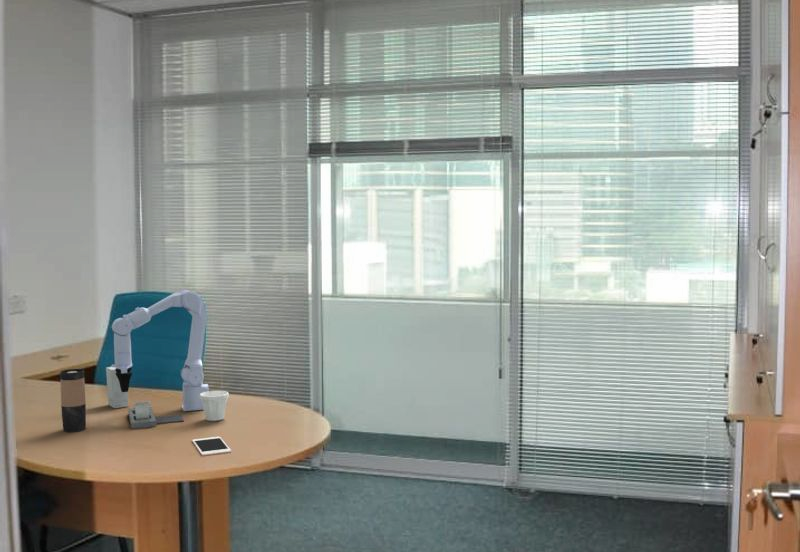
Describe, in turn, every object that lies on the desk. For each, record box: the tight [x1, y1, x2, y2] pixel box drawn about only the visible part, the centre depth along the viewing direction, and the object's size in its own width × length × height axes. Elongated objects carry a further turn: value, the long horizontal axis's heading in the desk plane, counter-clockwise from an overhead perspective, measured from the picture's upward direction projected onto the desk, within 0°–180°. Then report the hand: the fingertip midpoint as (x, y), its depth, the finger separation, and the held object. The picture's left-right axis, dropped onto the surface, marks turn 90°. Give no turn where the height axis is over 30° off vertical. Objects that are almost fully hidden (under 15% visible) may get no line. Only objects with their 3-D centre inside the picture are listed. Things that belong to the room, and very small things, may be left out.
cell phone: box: [191, 436, 232, 457], centre depth 257 cm, size 9×18×1 cm, turn 24°
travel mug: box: [59, 368, 87, 433], centre depth 278 cm, size 8×8×20 cm
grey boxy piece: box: [133, 400, 151, 420], centre depth 287 cm, size 5×5×7 cm
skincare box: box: [105, 366, 130, 409], centre depth 313 cm, size 8×6×15 cm
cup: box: [200, 390, 230, 422], centre depth 290 cm, size 10×10×9 cm
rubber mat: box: [155, 414, 184, 425], centre depth 291 cm, size 9×9×1 cm
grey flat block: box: [127, 406, 157, 430], centre depth 290 cm, size 8×22×2 cm, turn 21°
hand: (124, 389), depth 295 cm, fingers open, 7 cm apart
